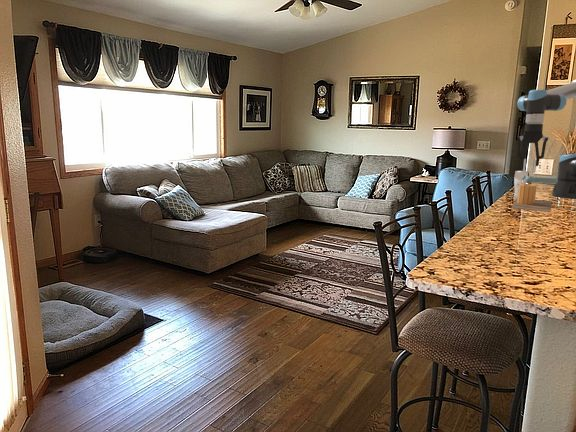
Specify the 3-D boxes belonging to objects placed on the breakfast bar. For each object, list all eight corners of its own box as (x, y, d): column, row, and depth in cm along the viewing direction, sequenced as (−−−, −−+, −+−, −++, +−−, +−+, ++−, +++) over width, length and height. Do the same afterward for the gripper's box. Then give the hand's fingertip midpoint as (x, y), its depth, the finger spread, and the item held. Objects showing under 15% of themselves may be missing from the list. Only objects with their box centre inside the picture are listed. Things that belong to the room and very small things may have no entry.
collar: (517, 201, 229) (519, 183, 227) (534, 202, 225) (536, 184, 223) (516, 203, 223) (518, 185, 221) (533, 205, 219) (536, 186, 217)
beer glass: (523, 198, 244) (526, 170, 241) (529, 200, 238) (532, 172, 234) (510, 198, 245) (512, 170, 242) (515, 200, 238) (518, 172, 235)
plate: (516, 201, 237) (516, 198, 237) (551, 204, 229) (552, 201, 228) (510, 211, 212) (510, 208, 211) (549, 215, 204) (550, 211, 203)
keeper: (525, 181, 229) (525, 176, 228) (525, 181, 232) (526, 176, 231) (556, 183, 222) (557, 178, 222) (556, 182, 225) (557, 177, 224)
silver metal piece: (524, 199, 233) (526, 181, 231) (529, 200, 232) (531, 182, 230) (522, 203, 224) (524, 184, 222) (528, 203, 223) (530, 185, 221)
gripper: (513, 123, 217) (509, 172, 222) (554, 123, 208) (548, 174, 213) (515, 123, 223) (510, 170, 228) (554, 123, 215) (549, 172, 220)
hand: (528, 172), depth 221 cm, fingers open, 4 cm apart
